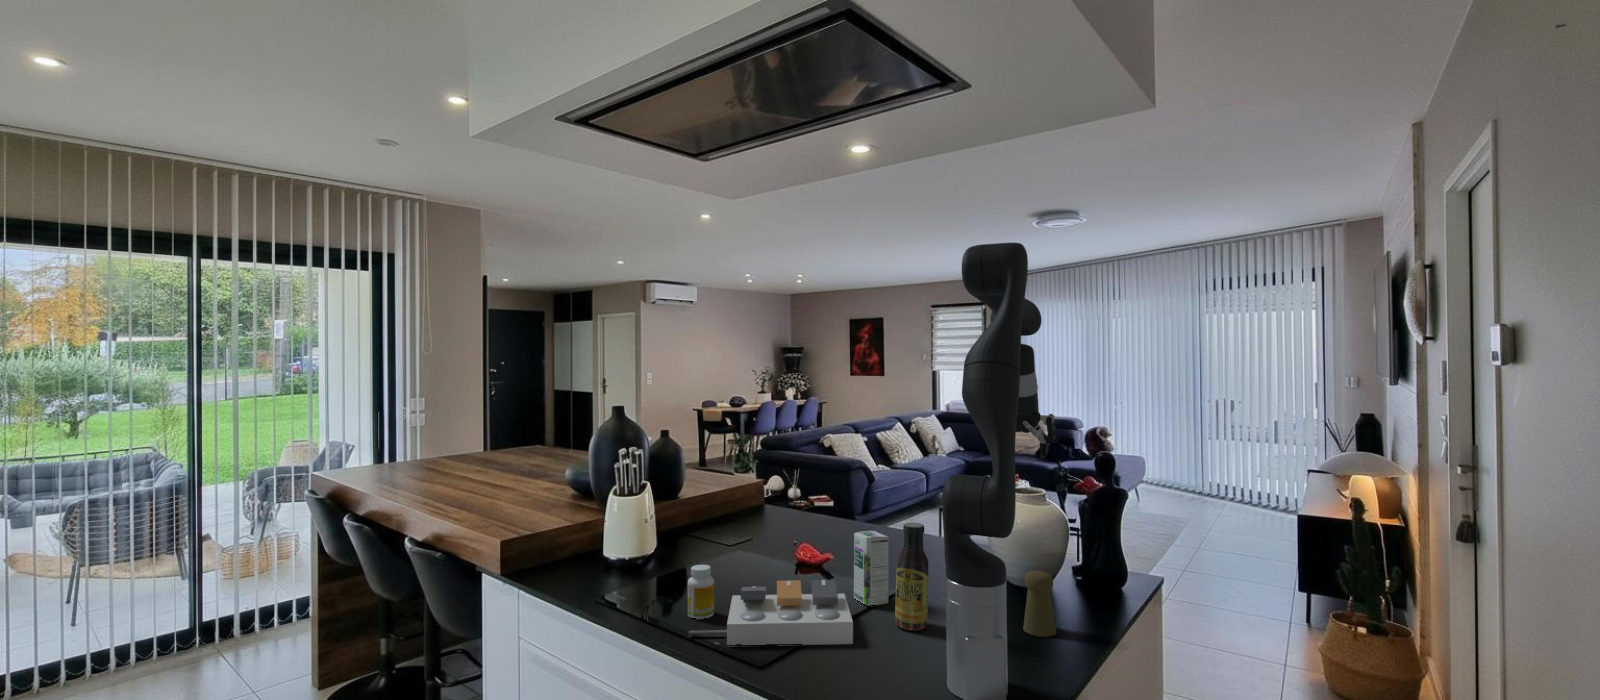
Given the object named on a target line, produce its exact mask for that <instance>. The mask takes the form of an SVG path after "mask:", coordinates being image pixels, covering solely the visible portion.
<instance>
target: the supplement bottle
mask: <svg viewBox="0 0 1600 700" xmlns="http://www.w3.org/2000/svg"><path fill="white" fill-rule="evenodd" d="M711 569H712V568H711V566H710V565H708V564H696V565H693V566H692V567H691V568H690V575H691V577H690V578H688V580H687V616H688V617H689V618H690V617H691V618H690V619H692V618H696V619H695V620H705V619H704V618H707V619H709V618H711V617H713V616H714V614H715V579H714V578H713V577H712V576H711V573H712V571H711Z"/></svg>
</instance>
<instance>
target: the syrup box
mask: <svg viewBox="0 0 1600 700" xmlns="http://www.w3.org/2000/svg"><path fill="white" fill-rule="evenodd" d="M853 535H854V537H853V539H854V540H853V545H854V546H853V555H854V556H853V599H854V598H855V599H856V600H855V601H857V600H858V601H860V602H861V603H863V604H865V605H876V606H881V605H885V604H889V535H884V534H882V533H879V532H877V531H876V530H865V531H864V530H863V531H858V532H857V531H856V532H855V533H853ZM858 601H857V602H858ZM860 602H859V603H860ZM861 603H860V604H861ZM863 604H862V605H863Z"/></svg>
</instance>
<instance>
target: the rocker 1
mask: <svg viewBox="0 0 1600 700" xmlns="http://www.w3.org/2000/svg"><path fill="white" fill-rule="evenodd" d="M740 595H741V600H743V603H761V602H764V599H766V595H767V586H756V585H755V586H753V585H752V586H742V587H741V589H740Z"/></svg>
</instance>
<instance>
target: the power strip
mask: <svg viewBox="0 0 1600 700" xmlns="http://www.w3.org/2000/svg"><path fill="white" fill-rule="evenodd" d="M801 594H802V605H799V606H777V594H766V599H764V602H761V603H743V600H741V594H740V595H734V594H733V595H732V596H731V601H730V605H729V606H730V608H729V612H728V616H727V617H728V618H727V622H726V629H713V630H712V629H711V630H710V629H709V630H708V629H707V630H705V629H704V630H703V629H702V630H701V629H700V630H689V631H688V637H689V636H692V635H698V636H727V637H726V646H727V645H730V644H731V645H736V644H742V645H766V644H802V645H801V646H806V645H807V646H812V645H813V646H814V645H818V646H820V645H823V646H824V645H826V646H827V645H854V621H853V618H852V614H851V611H850V608H849V603H848V601H847V597H846V594H845V593H837V595H838V605H813V599H812V593H809V594H808V593H801Z"/></svg>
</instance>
